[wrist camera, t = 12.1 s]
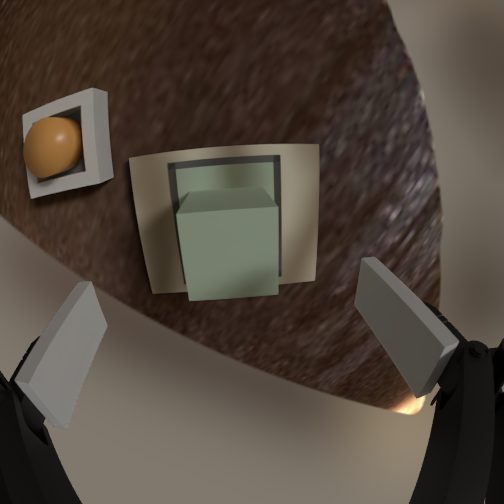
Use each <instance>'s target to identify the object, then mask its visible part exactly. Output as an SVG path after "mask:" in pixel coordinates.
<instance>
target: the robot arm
mask: <svg viewBox="0 0 504 504" xmlns="http://www.w3.org/2000/svg"><path fill="white" fill-rule="evenodd" d="M354 305H355V307H356V308H357V310H358V311H359V312H360V314H361V315H362V317H363V318H364V320H365V321H366V322H367V324H368V325H369V327H370V328H371V330H372V331H373V333H374V334H375V335H376V337H377V338H378V340H379V341H380V343H381V344H382V346H383V347H384V349H385V350H386V352H387V353H388V355H389V356H390V358H391V359H392V361H393V362H394V364H395V365H396V367H397V369H398V370H399V372H400V373H401V375H402V376H403V378H404V379H405V381H406V383H407V384H408V386H409V387H410V389H411V391H412V392H413V394H414V395H415V397H416V399H417V398H419V397H422V396H424V395H426V394H428V393H431V391H432V390H433V388H434V386H435V385H436V383H438V384H439V386H440V387H441V388H440V389H439V391H438V393H437V394H436V396H435V397H434V398H433V400H432V402H431V404H430V405H433V404H434V403H435V401H436V400H437V402H436V407H435V413H434V419H433V424H432V428H431V433H430V438H429V442H428V446H427V450H426V454H425V457H424V461H423V464H422V468H421V471H420V474H419V477H418V480H417V483H416V486H415V489H414V491H413V494H412V497H411V499H410V502H409V504H484V500H485V504H504V392H503V391H502V386H503V385H504V339H502V341H501V343H500V345H499V347H497V348H489V349H488V347H487V346H486V345H485V344H483V343H481V342H479V341H469V342H468V341H467V340H466V339H465V338H464V337H463V336H462V335H461V333H459V331H458V330H457V329H456V328H455V327H454V326H453V325H452V324H451V323H450V322H448V320H447V319H446V318H445V317H444V316H442V314H441V313H440V312H439V311H438V310H437V309H436V308H435V307H434V306H432V305H430V304H429V303H427V302H422V301H421V300H420V299H419V298H418V297H417V296H416V295H415V294H414V293H413V292H412V291H411V290H410V289H409V288H408V287H407V286H406V285H404V284H403V283H402V282H401V281H400V280H399V279H398V278H397V277H396V276H395V275H394V274H393V273H392V272H391V271H390V270H389V269H388V268H386V267H385V266H384V265H383V264H382V263H381V262H380V261H379V260H378V259H377V258H376V257H368V258H362V260H361V267H360V273H359V280H358V286H357V291H356V297H355V303H354ZM107 327H108V326H107V323H106V321H105V318H104V315H103V313H102V310H101V308H100V305H99V302H98V299H97V296H96V293H95V291H94V288H93V285H92V282H91V281H86V282H79V283H78V284H77V285H76V287H75V288H74V289H73V290H72V292H71V293H70V294H69V296H68V297H67V299H66V300H65V301H64V303H63V304H62V305H61V307H60V308H59V310H58V311H57V313H56V314H55V316H54V317H53V318H52V320H51V321H50V323H49V324H48V326H47V327H46V329H45V330H44V332H43V333H42V335H41V336H39V337H38V338H37V339H36V340H35V341H34V342H32V343H31V345H30V347H29V348H28V350H27V353H25V355H24V356H23V360H21V361H20V363H19V365H18V367H17V368H16V370H15V372H14V374H13V375H12V377H11V379H10V381H9V382H8V381H7V380H6V378H5V377H4V376H3V374H2V373H1V371H0V504H82V503H81V501H80V499H79V497H78V496H77V494H76V492H75V490H74V488H73V487H72V485H71V483H70V481H69V479H68V477H67V475H66V473H65V471H64V469H63V466H62V464H61V462H60V460H59V457H58V455H57V453H56V450H55V448H54V445H53V443H52V440H51V438H50V435H49V433H48V430H47V428H46V426H45V425H44V424H43V423H44V420H45V418H46V419H47V420H48V422H49V423H50V424H51V425H52V426H53V427H57V428H61V429H65V430H68V426H69V424H70V420H71V417H72V414H73V411H74V409H75V406H76V403H77V400H78V397H79V394H80V392H81V389H82V386H83V384H84V381H85V379H86V376H87V373H88V371H89V368H90V366H91V363H92V361H93V359H94V356H95V354H96V351H97V349H98V347H99V345H100V342H101V340H102V338H103V335H104V333H105V331H106V329H107Z"/></svg>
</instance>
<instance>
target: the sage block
mask: <svg viewBox="0 0 504 504" xmlns="http://www.w3.org/2000/svg"><path fill="white" fill-rule="evenodd" d="M176 217H177V225H178V232H179V240H180V247H181V254H182V260H183V267H184V273H185V279H186V285H187V290H188V296H189V301H198V300H213V299H227V298H240V297H252V296H264V295H275V294H278V269H279V223H278V206H277V204H276V203H275V202H274V201H273V199H272V198H271V197H270V195H269V194H268V193H267V192H266V190H265V189H264V188H263V187H262V186H261V187H242V188H227V189H213V190H201V191H190V192H189V194H188V195H187V197H186V199H185V200H184V202H183V204H182V205H181V207H180V209H179V210H178V212H177V214H176Z"/></svg>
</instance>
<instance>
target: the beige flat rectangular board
mask: <svg viewBox="0 0 504 504" xmlns="http://www.w3.org/2000/svg"><path fill="white" fill-rule="evenodd" d="M129 163H130V172H131V180H132V188H133V195H134V202H135V209H136V215H137V221H138V227H139V232H140V238H141V243H142V248H143V253H144V258H145V262H146V267H147V272H148V276H149V280H150V284H151V289H152V293H153V294H156V293H174V292H188V290H187V285H186V279H185V273H184V267H183V260H182V254H181V247H180V240H179V232H178V225H177V217H176V214H177V212H178V210H179V209H180V207H181V205H182V204H183V202H184V200H185V199H186V197H187V195H188V194H189V192H190V191H201V190H213V189H227V188H242V187H261V186H262V187H263V188H264V189H265V190H266V192H267V193H268V194H269V195H270V197H271V198H272V199H273V201H274V202H275V203H276V204H277V206H278V223H279V269H278V284H287V283H297V282H306V281H315V271H316V255H317V236H318V210H319V144H259V145H237V146H222V147H210V148H199V149H189V150H180V151H172V152H165V153H157V154H151V155H144V156H138V157H132V158H129Z"/></svg>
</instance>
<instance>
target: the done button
mask: <svg viewBox="0 0 504 504" xmlns="http://www.w3.org/2000/svg"><path fill="white" fill-rule="evenodd" d="M82 152H83V138H82V128H81V127H80V125H79V124H78V123H77V122H76V121H75V120H73V119H71V118H58V117H45V118H42V119H40V120H38V121H37V122H35V123H34V124H33V125H32V127H31V128H30V129H29V131H28V133H27V135H26V138H25V142H24V148H23V154H24V160H25V164H26V166H27V168H28V169H29V171H30V172H31V173H32V174H33V175H35V176H37V177H40V178H44V177H48V176H51V175H55V174H58V173H61V172H64V171H67V170H69V169H71V168H72V167H74V166H75V165H76V163H77V162H78V161H79V159H80V157H81V155H82Z"/></svg>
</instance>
